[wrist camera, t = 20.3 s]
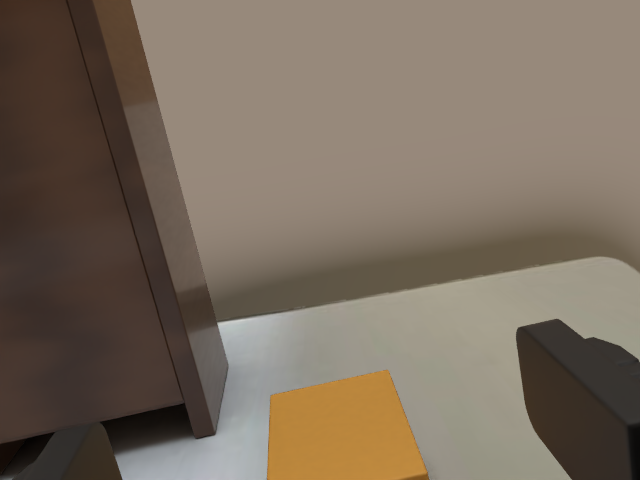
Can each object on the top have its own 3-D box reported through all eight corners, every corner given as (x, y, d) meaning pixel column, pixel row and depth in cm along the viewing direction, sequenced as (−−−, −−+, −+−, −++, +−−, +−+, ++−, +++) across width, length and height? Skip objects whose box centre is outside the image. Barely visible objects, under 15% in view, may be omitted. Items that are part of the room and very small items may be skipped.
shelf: (-27, 488, 34) (-281, -135, 26) (36, 407, 42) (-139, -76, 34) (215, 434, 34) (36, -199, 26) (228, 365, 42) (97, -125, 35)
